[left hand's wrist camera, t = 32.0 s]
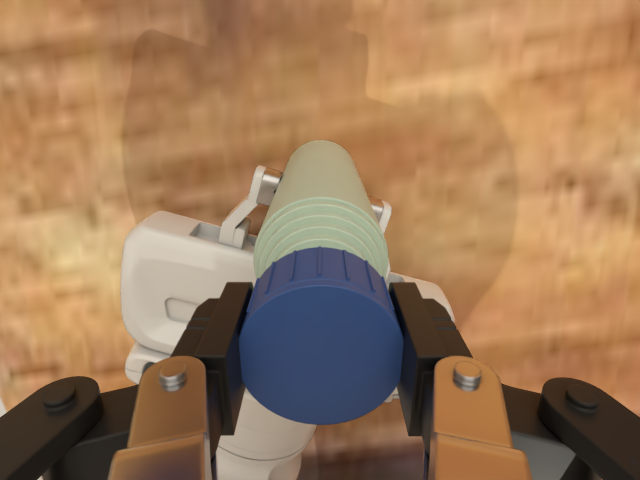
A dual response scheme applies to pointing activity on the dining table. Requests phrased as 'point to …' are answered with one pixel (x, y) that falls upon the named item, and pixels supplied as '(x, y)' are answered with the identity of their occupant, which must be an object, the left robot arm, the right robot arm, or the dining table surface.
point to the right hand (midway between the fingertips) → (324, 185)
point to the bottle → (320, 210)
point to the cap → (320, 338)
